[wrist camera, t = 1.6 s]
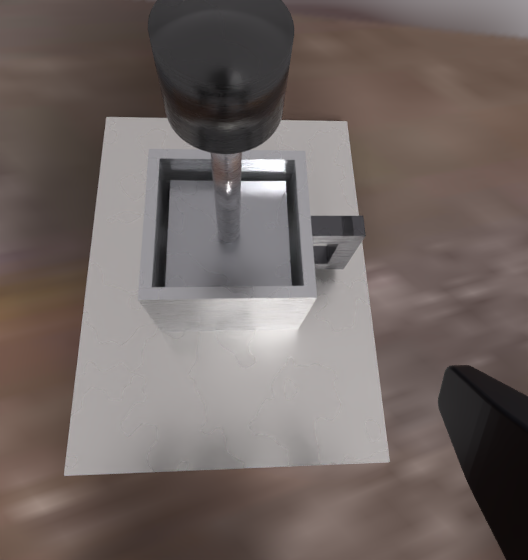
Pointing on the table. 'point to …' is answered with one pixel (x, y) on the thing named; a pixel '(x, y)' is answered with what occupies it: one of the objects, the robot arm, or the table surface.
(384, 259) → the table surface
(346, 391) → the white socket holder tray
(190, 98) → the plunger
